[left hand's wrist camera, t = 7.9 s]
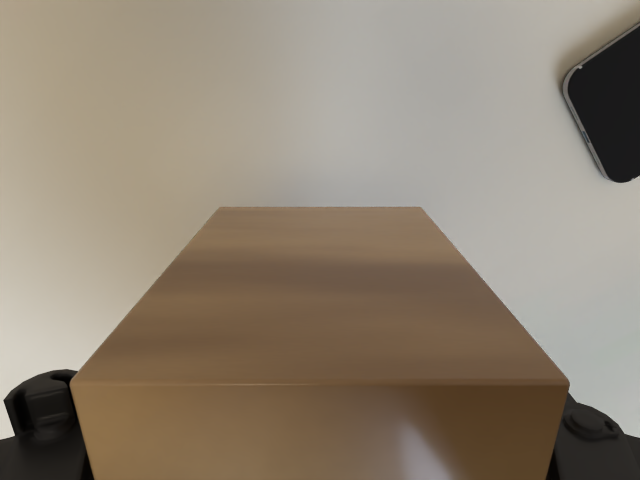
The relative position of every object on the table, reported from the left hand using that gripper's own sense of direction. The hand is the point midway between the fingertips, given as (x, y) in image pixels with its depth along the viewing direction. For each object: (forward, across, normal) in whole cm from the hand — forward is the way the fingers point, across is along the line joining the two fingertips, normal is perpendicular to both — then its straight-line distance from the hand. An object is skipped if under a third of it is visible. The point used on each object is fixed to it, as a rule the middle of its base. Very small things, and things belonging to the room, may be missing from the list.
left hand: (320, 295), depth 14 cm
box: (+1, 0, -8) cm, 8 cm away
